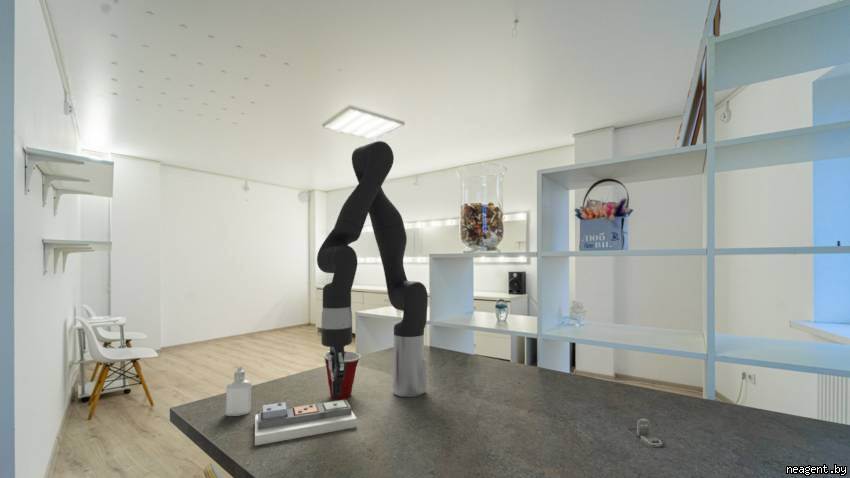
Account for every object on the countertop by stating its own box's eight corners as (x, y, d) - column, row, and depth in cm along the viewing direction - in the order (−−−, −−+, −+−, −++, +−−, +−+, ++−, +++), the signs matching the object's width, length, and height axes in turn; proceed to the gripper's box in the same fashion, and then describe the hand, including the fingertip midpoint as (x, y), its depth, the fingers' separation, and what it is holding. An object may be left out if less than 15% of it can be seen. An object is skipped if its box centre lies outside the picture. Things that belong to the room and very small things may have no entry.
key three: (315, 410, 92) (315, 403, 92) (317, 417, 88) (317, 410, 88) (293, 413, 90) (293, 406, 90) (295, 421, 86) (295, 413, 86)
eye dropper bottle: (241, 417, 93) (243, 369, 94) (222, 415, 94) (224, 367, 95) (253, 411, 97) (254, 364, 98) (234, 409, 99) (236, 363, 99)
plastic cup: (355, 403, 103) (356, 359, 104) (317, 402, 104) (318, 358, 104) (363, 389, 114) (364, 349, 115) (329, 389, 114) (329, 349, 115)
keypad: (345, 408, 99) (345, 395, 99) (356, 427, 88) (356, 411, 88) (255, 423, 90) (255, 408, 90) (254, 445, 79) (255, 428, 79)
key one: (343, 406, 95) (343, 399, 95) (346, 412, 91) (347, 405, 91) (323, 409, 93) (323, 402, 93) (326, 416, 89) (326, 408, 89)
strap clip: (664, 447, 80) (664, 427, 80) (651, 448, 79) (650, 428, 80) (637, 429, 88) (637, 411, 88) (625, 430, 88) (625, 411, 88)
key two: (285, 408, 90) (285, 401, 90) (286, 415, 86) (286, 408, 86) (262, 411, 88) (262, 404, 88) (262, 419, 84) (262, 411, 84)
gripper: (358, 328, 89) (358, 401, 88) (346, 319, 101) (346, 384, 100) (326, 331, 86) (326, 407, 85) (317, 322, 98) (317, 389, 97)
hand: (336, 395), depth 93 cm, fingers closed
